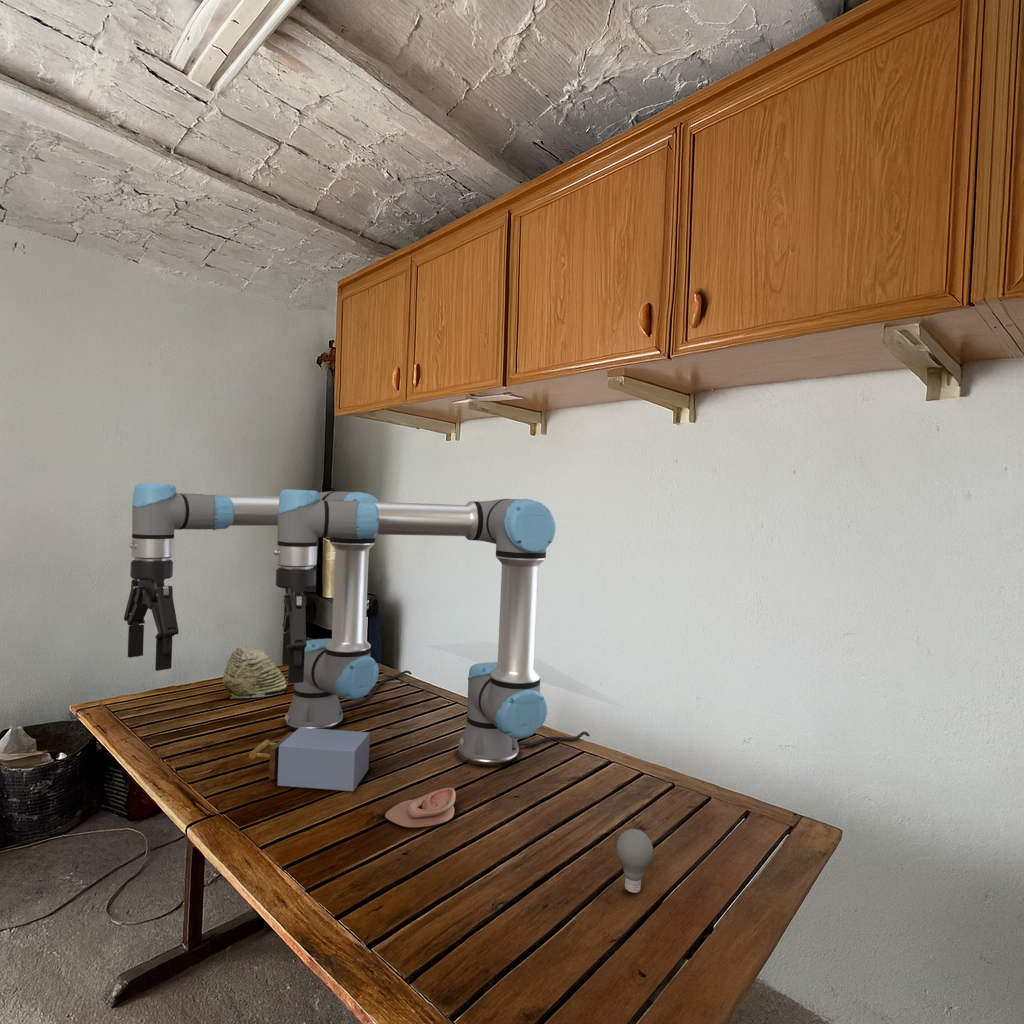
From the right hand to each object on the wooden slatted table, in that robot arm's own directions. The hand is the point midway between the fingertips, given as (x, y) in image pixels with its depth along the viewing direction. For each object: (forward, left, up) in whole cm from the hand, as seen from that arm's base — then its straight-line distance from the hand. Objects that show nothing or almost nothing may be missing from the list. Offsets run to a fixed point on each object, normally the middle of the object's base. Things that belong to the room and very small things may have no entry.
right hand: (292, 673), depth 127 cm
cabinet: (-9, -13, -28) cm, 32 cm away
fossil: (+3, -79, -28) cm, 84 cm away
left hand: (+26, -15, 0) cm, 30 cm away
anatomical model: (-25, +10, -28) cm, 39 cm away
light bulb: (-51, +47, -28) cm, 74 cm away
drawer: (-4, -16, -27) cm, 32 cm away
